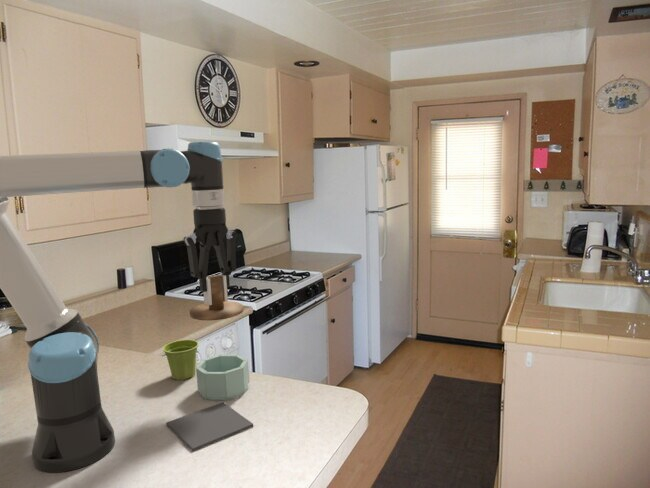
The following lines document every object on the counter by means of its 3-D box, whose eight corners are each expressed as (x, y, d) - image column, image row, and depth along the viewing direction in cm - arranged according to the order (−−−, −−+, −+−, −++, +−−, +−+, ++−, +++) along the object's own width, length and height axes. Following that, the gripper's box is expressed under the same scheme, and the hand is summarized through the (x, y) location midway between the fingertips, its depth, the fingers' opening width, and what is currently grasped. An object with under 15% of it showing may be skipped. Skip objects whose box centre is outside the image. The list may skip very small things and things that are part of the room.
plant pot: (196, 382, 135) (193, 351, 133) (160, 383, 135) (157, 352, 133) (205, 368, 144) (202, 338, 142) (172, 369, 144) (169, 340, 143)
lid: (204, 324, 117) (201, 285, 116) (181, 312, 127) (178, 277, 126) (253, 312, 125) (250, 276, 123) (227, 302, 135) (225, 268, 134)
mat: (193, 451, 102) (192, 448, 102) (166, 425, 113) (166, 422, 113) (253, 426, 111) (253, 423, 111) (223, 404, 122) (222, 402, 121)
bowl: (213, 405, 121) (211, 377, 120) (192, 389, 130) (189, 363, 129) (257, 389, 128) (255, 363, 127) (233, 375, 138) (231, 351, 137)
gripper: (182, 211, 114) (190, 312, 118) (247, 205, 124) (253, 298, 128) (169, 209, 120) (177, 306, 123) (232, 204, 130) (238, 293, 134)
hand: (216, 302), depth 126 cm, fingers closed on lid, 4 cm apart
